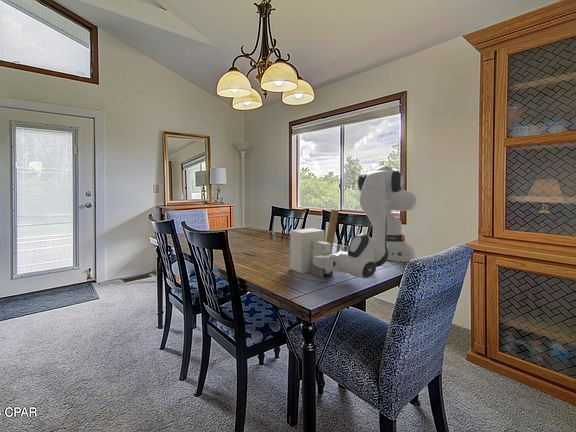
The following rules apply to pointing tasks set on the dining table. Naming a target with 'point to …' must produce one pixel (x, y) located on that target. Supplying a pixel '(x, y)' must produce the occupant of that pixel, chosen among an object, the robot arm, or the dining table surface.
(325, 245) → the white upright block
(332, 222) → the hammer
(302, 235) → the hinge cabinet
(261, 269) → the dining table surface
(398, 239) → the robot arm
